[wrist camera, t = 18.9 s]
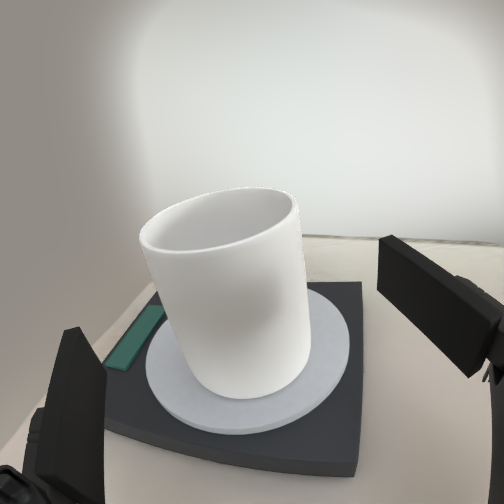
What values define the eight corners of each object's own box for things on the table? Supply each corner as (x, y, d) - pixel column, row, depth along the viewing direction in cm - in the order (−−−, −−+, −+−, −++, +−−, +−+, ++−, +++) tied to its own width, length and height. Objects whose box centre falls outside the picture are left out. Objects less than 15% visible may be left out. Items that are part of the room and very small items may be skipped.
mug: (168, 317, 26) (127, 203, 22) (255, 282, 29) (232, 170, 24) (216, 424, 16) (150, 275, 12) (337, 364, 19) (332, 210, 14)
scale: (87, 421, 20) (66, 397, 19) (171, 298, 35) (162, 274, 33) (353, 477, 14) (359, 457, 13) (361, 302, 29) (361, 273, 27)
